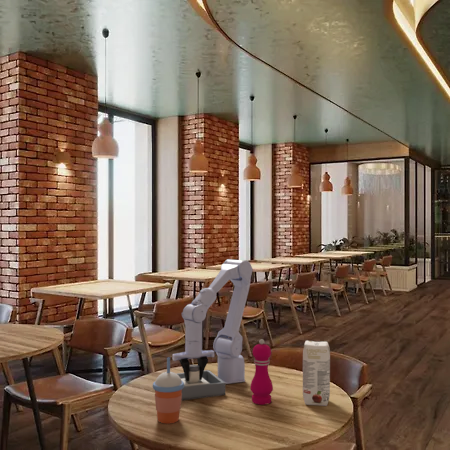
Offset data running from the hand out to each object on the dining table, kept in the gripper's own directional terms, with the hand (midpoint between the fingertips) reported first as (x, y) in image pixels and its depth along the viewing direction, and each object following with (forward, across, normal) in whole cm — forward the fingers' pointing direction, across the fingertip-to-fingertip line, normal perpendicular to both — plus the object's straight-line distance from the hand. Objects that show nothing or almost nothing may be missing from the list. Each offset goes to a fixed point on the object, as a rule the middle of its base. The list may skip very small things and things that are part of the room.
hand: (193, 379), depth 173 cm
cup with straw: (+4, +15, +22) cm, 27 cm away
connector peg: (+2, 0, 0) cm, 2 cm away
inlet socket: (+4, 0, 0) cm, 4 cm away
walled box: (+4, 0, 0) cm, 4 cm away
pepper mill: (+4, -17, +18) cm, 25 cm away
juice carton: (+4, -33, +25) cm, 42 cm away
